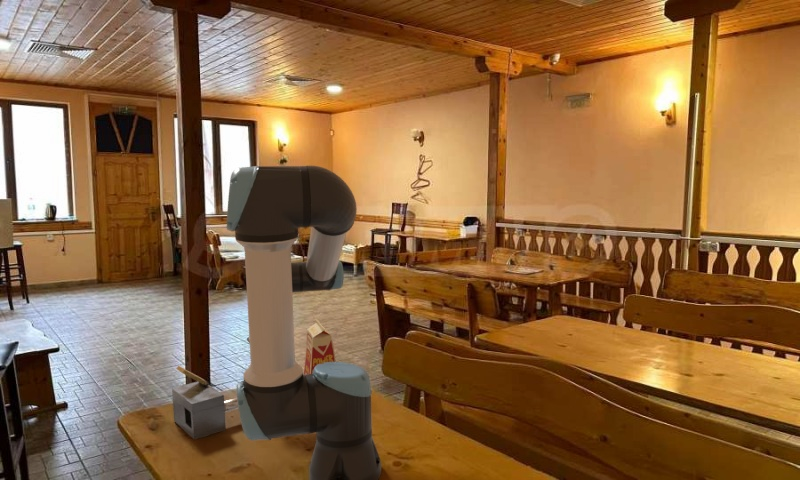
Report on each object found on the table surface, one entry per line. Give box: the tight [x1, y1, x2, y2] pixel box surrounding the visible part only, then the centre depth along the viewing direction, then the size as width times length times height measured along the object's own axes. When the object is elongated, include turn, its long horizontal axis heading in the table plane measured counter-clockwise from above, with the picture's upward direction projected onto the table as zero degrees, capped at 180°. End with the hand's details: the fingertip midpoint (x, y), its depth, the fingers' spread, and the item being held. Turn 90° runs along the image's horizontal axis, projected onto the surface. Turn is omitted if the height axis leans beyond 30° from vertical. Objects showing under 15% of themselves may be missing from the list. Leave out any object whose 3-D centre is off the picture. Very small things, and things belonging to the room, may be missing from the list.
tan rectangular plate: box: [176, 365, 210, 386], centre depth 143 cm, size 5×8×1 cm
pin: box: [224, 397, 239, 414], centre depth 144 cm, size 5×16×5 cm, turn 131°
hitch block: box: [171, 381, 227, 441], centre depth 140 cm, size 14×8×9 cm, turn 41°
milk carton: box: [303, 318, 337, 375], centre depth 166 cm, size 9×9×20 cm
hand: (273, 393), depth 150 cm, fingers closed
